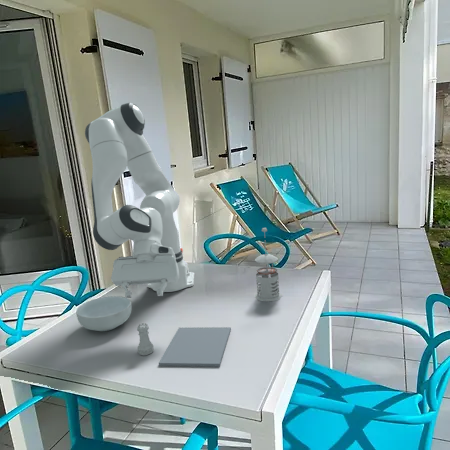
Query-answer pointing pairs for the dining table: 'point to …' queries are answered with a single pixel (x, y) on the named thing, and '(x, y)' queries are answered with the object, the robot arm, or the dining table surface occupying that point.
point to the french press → (267, 278)
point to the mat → (196, 347)
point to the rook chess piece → (144, 340)
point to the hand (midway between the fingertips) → (143, 296)
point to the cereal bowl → (104, 313)
